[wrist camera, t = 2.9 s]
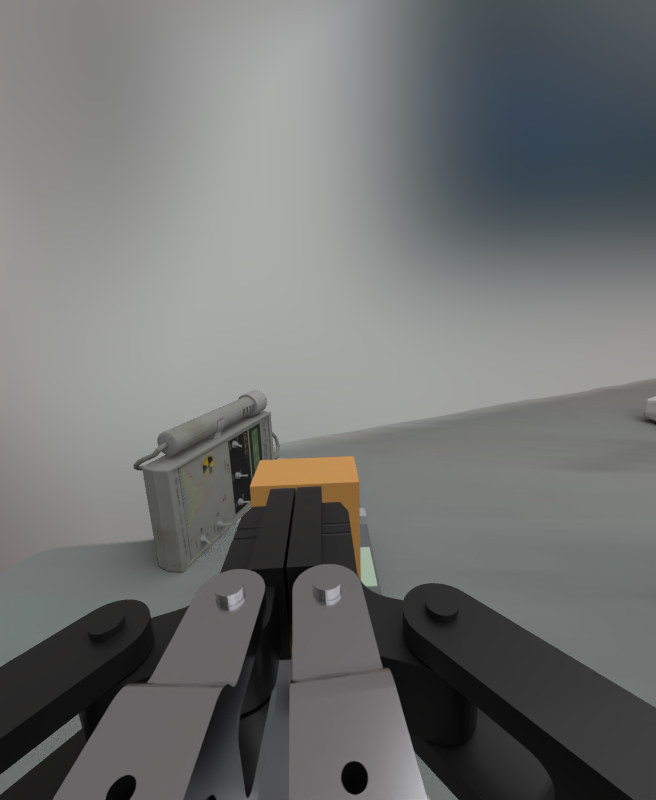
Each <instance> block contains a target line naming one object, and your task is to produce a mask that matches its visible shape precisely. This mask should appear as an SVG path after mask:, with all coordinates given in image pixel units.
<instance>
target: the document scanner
mask: <svg viewBox="0 0 656 800" xmlns="http://www.w3.org/2000/svg"><path fill="white" fill-rule="evenodd" d="M644 415H645V416H646V417H648V418H650V419H652V420H654V421H656V396H655V397H652V398H650V399H647V402H646V406H645V411H644Z"/></svg>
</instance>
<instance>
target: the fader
mask: <svg viewBox="0 0 656 800" xmlns="http://www.w3.org/2000/svg"><path fill="white" fill-rule="evenodd" d="M313 486H321V488H322V503H328V502H341V504H342V505H343V506H344V507H345V508H346V509H347V510H348V511H349V519H350V526H351V534H352V540H353V547H354V554H355V561H356V568H357V573H358V576H359V578H360V580H361V558H360V502H359V479H358V475H357V470H356V466H355V461H354V457H353V456H348V457H324V458H301V459H278V460H260V462H259V464H258V467H257V469H256V472H255V475H254V477H253V480H252V482H251V485H250V495H251V505H252V507H258V506H266V503H267V499H268V496H269V492H270V489H278V488H296V491H297V487H313ZM287 669H288V681H289V693H290V681H291V680H293V646H292V658H291V660H287Z"/></svg>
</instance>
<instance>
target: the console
mask: <svg viewBox="0 0 656 800" xmlns="http://www.w3.org/2000/svg"><path fill="white" fill-rule="evenodd" d="M360 558H361V582H362V583H363V584H364V585H365V586H366V587H367V588H369V589H370V590H371V591H373V592H375V593H377V594H379V595H382V594H381V589H380V584H379V580H378V575H377V570H376V566H375V561H374V557H373V552H372V547H371V543H370V538H369V533H368V529H367V519H366V512H365V508H360ZM275 685H276V703H275V708H274V714H273V719H272V724H271V730H270V735H269V740H268V746H267V751H266V757H265V762H264V767H263V773H262V778H261V783H260V789H259V794H258V800H289V701H290V693H289V681H288V669H287V660H279V666H278V675H277V681H276V684H275ZM414 753H415V751H414ZM415 757H416V753H415ZM416 761H417V757H416ZM417 764H418V761H417ZM418 768H419V766H418ZM419 771H420V770H419ZM427 800H430V798H429V797H427Z"/></svg>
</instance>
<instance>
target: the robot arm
mask: <svg viewBox="0 0 656 800" xmlns="http://www.w3.org/2000/svg"><path fill="white" fill-rule="evenodd" d="M233 539H234V540H233V541H232V543H231V546H230V549H229V551H228V554H227V556H226V559H225V562H224V564H223V567H222V570H221V572H220V574H217V575H215V576H213V577H212V578H210V579H209V580H207V581H206V582H205V583H204V584H203V585H202V586H201V587H200V588H199V590H198V591H197V593H196V595H195V597H194V598H193V600H192V602H191V604H190V605H189V606H187V607H185V608H182V609H179V610H176V611H173V612H170V613H167V614H163V615H160V616H157V617H153V618H151V617H150V611H149V609H148V607H147V606H146V604H144V603H143V602H141V601H138V600H121V601H116V602H112V603H109V604H107V605H104V606H102V607H100V608H98V609H96V610H94V611H92V612H91V613H89V614H87V615H86V616H84V617H82V618H81V619H79V620H77V621H76V622H74V623H72V624H71V625H69V626H67V627H66V628H64V629H62V630H61V631H59V632H57V633H56V634H54V635H52V636H51V637H49V638H48V639H46V640H44V641H43V642H41V643H39V644H38V645H36V646H34V647H33V648H31V649H29V650H28V651H26V652H24V653H23V654H21V655H19V656H18V657H16V658H14V659H13V660H11V661H9V662H8V663H6V664H4V665H3V666H1V667H0V774H2V773H3V772H4V771H5V770H7V769H8V768H9V767H10V766H12V765H13V764H14V763H16V762H17V761H18V760H19V759H21V758H22V757H23V756H25V755H26V754H27V753H28V752H30V751H31V750H32V749H34V748H35V747H36V746H37V745H39V744H40V743H41V742H43V741H44V740H45V739H46V738H48V737H49V736H50V735H52V734H53V733H54V732H55V731H57V730H58V729H59V728H61V727H62V726H63V725H64V724H66V723H67V722H68V721H70V720H71V719H72V718H73V717H75V716H76V715H77V714H79V717H80V721H81V724H82V729H81V730H80V731H78V732H77V733H76V734H75V735H74V736H72V737H71V738H70V739H69V740H67V741H66V742H65V743H64V744H62V745H61V746H60V747H59V748H58V749H56V750H55V751H54V752H53V753H51V754H50V755H49V756H48V757H46V758H45V759H44V760H43V761H42V762H40V763H39V764H38V765H37V766H35V767H34V768H33V769H32V770H30V771H29V772H28V773H27V774H26V775H24V776H23V777H22V778H21V779H19V780H18V781H17V782H16V783H14V784H13V785H12V786H11V787H10V788H8V789H7V790H6V791H5V792H3V793H2V794H1V795H0V800H258V794H259V789H260V783H261V778H262V773H263V767H264V762H265V757H266V751H267V746H268V740H269V735H270V730H271V724H272V719H273V714H274V708H275V703H276V685H275V684H276V681H277V675H278V666H279V660H291V658H292V646H293V680H291V681H290V701H289V800H427V796H426V793H425V789H424V786H423V782H422V779H421V775H420V771H419V768H418V764H417V761H416V757H415V753H416V754H417V755H418V756H419V757H420V758H421V759H422V760H423V761H424V763H425V764H426V765H427V766H428V767H429V768H430V769H431V770H432V771H433V772H434V773H435V774H436V776H437V777H438V778H439V779H440V780H441V781H442V782H443V783H444V784H445V785H446V786H447V788H448V789H449V790H450V791H451V792H452V793H453V794H454V795H455V796H456V797H457V798H458V799H459V800H656V708H655V707H653V706H652V705H650V704H648V703H647V702H645V701H643V700H642V699H640V698H638V697H637V696H635V695H633V694H632V693H630V692H628V691H627V690H625V689H623V688H622V687H620V686H618V685H617V684H615V683H613V682H612V681H610V680H608V679H607V678H605V677H604V676H602V675H600V674H599V673H597V672H595V671H594V670H592V669H590V668H589V667H587V666H585V665H584V664H582V663H580V662H579V661H577V660H575V659H574V658H572V657H570V656H569V655H567V654H565V653H564V652H562V651H560V650H559V649H557V648H555V647H554V646H552V645H550V644H549V643H547V642H545V641H544V640H542V639H540V638H539V637H537V636H535V635H534V634H532V633H530V632H529V631H527V630H525V629H524V628H522V627H521V626H519V625H517V624H516V623H514V622H512V621H511V620H509V619H507V618H506V617H504V616H502V615H501V614H499V613H497V612H496V611H494V610H492V609H491V608H489V607H487V606H486V605H484V604H482V603H481V602H479V601H477V600H476V599H474V598H472V597H471V596H469V595H467V594H466V593H464V592H462V591H460V590H459V589H457V588H454V587H452V586H448V585H444V584H438V583H430V584H423V585H419V586H417V587H415V588H413V589H412V590H410V591H409V592H408V593H407V595H406V596H405V598H404V601H403V600H398V599H393V598H389V597H385V596H382V595H379V594H377V593H375V592H373V591H371V590H370V589H369V588H367V587H366V586H365V585H364V584H363V583H362V582H361V580H360V578H359V576H358V573H357V568H356V561H355V554H354V547H353V540H352V534H351V526H350V519H349V511H348V510H347V509H346V508H345V507H344V506H343V505H342V504H341V502H328V503H322V488H321V486H313V487H297V491H296V488H278V489H270V492H269V496H268V499H267V503H266V506H258V507H252V508H251V509H250V510H249V511H248V512H246V513H245V514H244V515H243V516H242V517H241V520H240V523H239V525H238V528H237V531H236V533H235V536H234V538H233ZM414 751H415V753H414Z"/></svg>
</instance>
